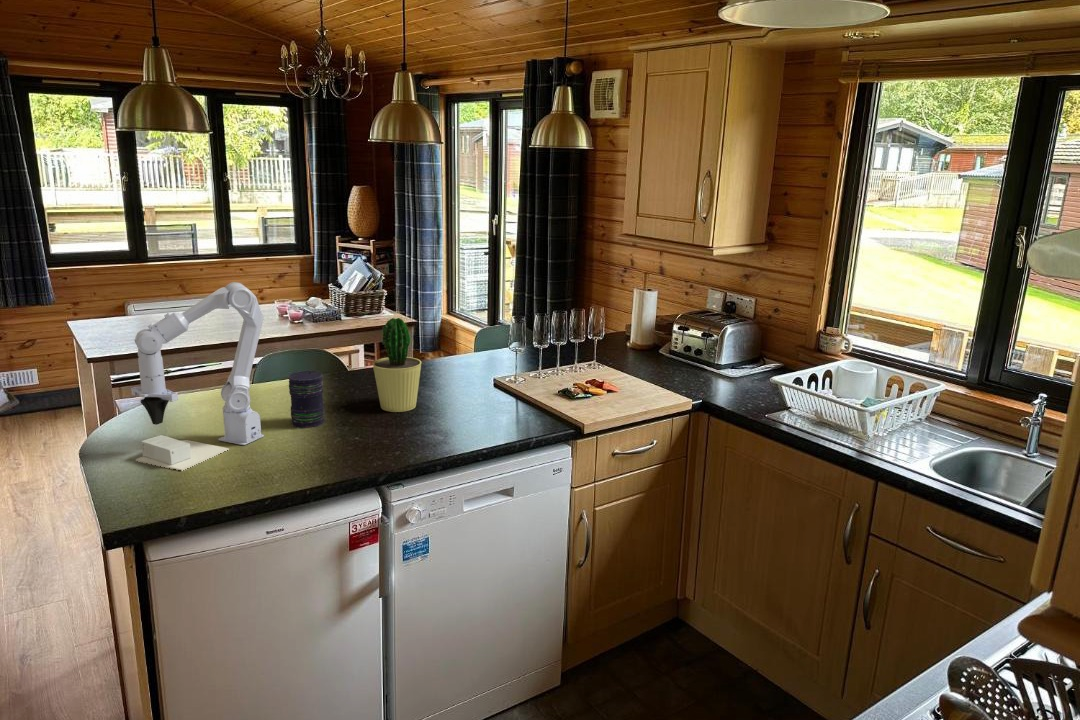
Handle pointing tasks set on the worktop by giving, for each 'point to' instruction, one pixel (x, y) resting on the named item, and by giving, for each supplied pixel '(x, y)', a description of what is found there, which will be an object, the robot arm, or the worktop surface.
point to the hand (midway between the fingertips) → (157, 423)
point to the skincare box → (166, 449)
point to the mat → (198, 455)
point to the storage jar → (306, 399)
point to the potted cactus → (397, 370)
